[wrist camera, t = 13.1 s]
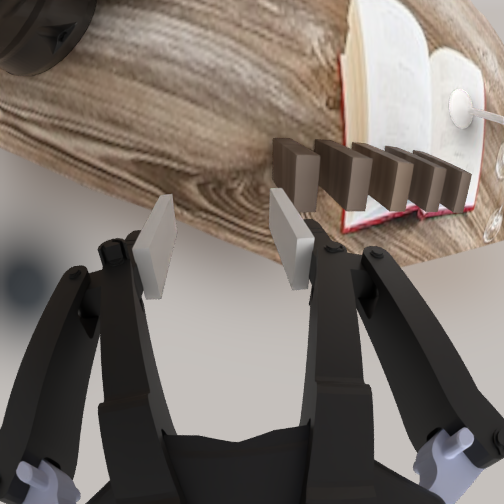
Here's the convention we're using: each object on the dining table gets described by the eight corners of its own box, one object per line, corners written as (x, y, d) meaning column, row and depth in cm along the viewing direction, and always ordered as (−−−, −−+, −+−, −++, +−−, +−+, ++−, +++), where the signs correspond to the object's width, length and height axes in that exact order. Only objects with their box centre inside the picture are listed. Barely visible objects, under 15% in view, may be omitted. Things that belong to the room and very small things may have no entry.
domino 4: (380, 181, 33) (425, 211, 24) (385, 145, 30) (434, 167, 22) (392, 182, 33) (437, 211, 25) (397, 147, 30) (446, 169, 22)
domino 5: (408, 183, 33) (453, 212, 25) (413, 150, 31) (462, 172, 22) (417, 184, 33) (462, 212, 25) (423, 151, 31) (471, 174, 22)
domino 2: (312, 179, 32) (346, 211, 23) (315, 139, 29) (353, 157, 21) (327, 179, 32) (365, 211, 24) (330, 140, 29) (372, 159, 21)
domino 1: (272, 179, 31) (293, 212, 23) (273, 138, 29) (296, 155, 20) (288, 179, 32) (315, 211, 23) (290, 138, 29) (320, 155, 21)
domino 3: (348, 180, 32) (389, 211, 24) (352, 142, 30) (398, 162, 21) (361, 180, 33) (404, 211, 24) (366, 143, 30) (413, 164, 21)
